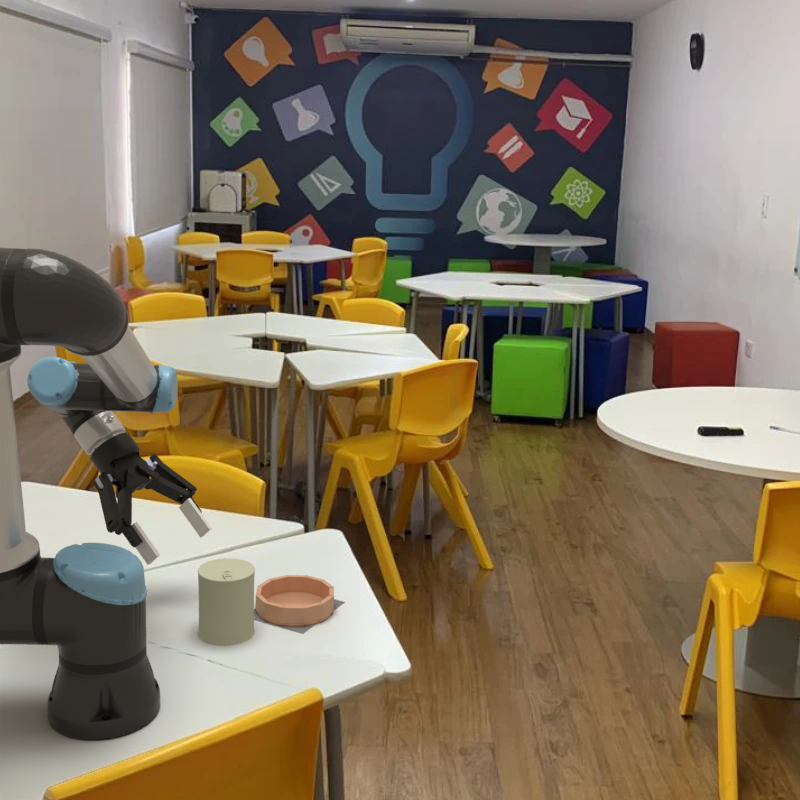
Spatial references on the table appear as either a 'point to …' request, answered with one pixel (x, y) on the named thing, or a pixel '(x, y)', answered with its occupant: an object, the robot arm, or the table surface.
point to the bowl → (295, 600)
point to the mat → (296, 629)
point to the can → (226, 601)
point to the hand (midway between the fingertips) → (181, 546)
